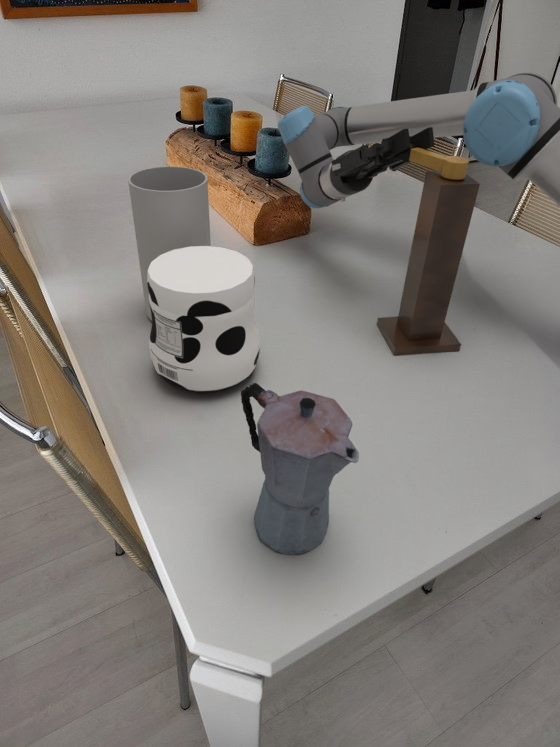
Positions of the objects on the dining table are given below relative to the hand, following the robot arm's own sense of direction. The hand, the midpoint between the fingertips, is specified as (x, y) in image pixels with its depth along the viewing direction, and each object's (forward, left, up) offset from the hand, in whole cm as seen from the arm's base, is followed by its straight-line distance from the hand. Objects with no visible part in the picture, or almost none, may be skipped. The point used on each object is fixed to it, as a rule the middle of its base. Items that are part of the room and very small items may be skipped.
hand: (419, 137), depth 82 cm
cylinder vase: (+38, -8, -33) cm, 51 cm away
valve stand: (-4, +5, -33) cm, 34 cm away
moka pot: (+26, +42, -33) cm, 60 cm away
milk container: (+34, +10, -33) cm, 49 cm away
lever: (-1, 0, -4) cm, 4 cm away
